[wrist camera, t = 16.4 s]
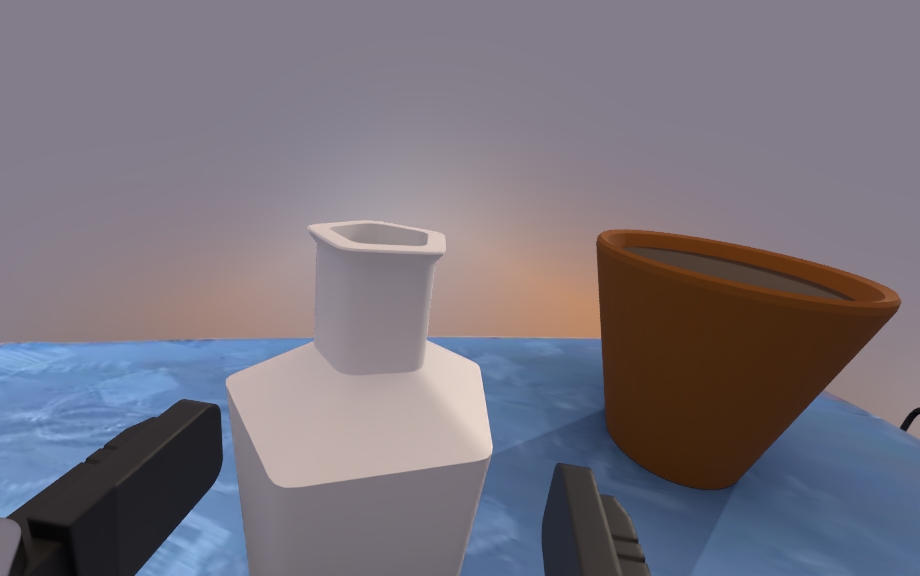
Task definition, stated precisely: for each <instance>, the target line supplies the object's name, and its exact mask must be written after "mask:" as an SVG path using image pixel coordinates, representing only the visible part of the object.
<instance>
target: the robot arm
mask: <svg viewBox="0 0 920 576" xmlns="http://www.w3.org/2000/svg"><path fill="white" fill-rule="evenodd" d="M919 414H920V408H916V409H914V410H913V411H912V412H911V413H909V415H908V416H907V417H906V418H905V420H904V422H903V423H902V425H901V426H900V429H901V430H903V431H905V432H906V431H907V430H908V428H909V426H910V425H911V423H912V422H913V420H914V419H915V418H916V417H917V416H918V415H919ZM222 461H223V450H222V429H221V411H220V408H219V406H218V405H216V404H211V403H206V402H200V401H194V400H188V399H183V400H180V401H178V402H177V403H175V404H174V405H173V406H171V407H170V408H169V409H168V410H166V411H165V412H164V413H162V414H161V415H160V416H158V417H157V418H156V417H152V418H150V419H147V420H145V421H143V422H141V423H139V424H136V425H134V426H132V427H130V428H127V429H126V430H124V431H123V432H122V433H120V434H119V435H117V436H116V437H115V438H113V439H112V440H111V441H109V442H108V443H107V444H105V445H104V448H103V449H101V448H100V449H98V450H97V451H96V452H94V453H93V454H92V455H90V456H89V457H88V458H86V461H85V462H84V463H83V462H81V463H79V464H78V465H77V466H75V467H74V468H73V469H71V470H70V471H69V472H67V473H66V474H65V475H63V476H62V477H60V478H59V479H58V480H56V481H55V482H54V483H52V484H51V485H50V486H48V487H47V488H46V489H44V490H43V491H41V492H40V493H39V494H37V495H36V496H35V497H33V498H32V499H31V500H29V501H28V502H27V503H25V504H24V505H22V506H21V507H20V508H18V509H17V510H16V511H14V512H13V513H12V514H10V515H9V516H7V517H6V518H0V576H135V574H136V573H137V572H138V571H139V570H140V569H141V568H142V566H143V565H144V564H145V563H146V562H147V561H148V559H149V558H150V557H151V556H152V555H153V554H154V553H155V551H156V550H157V549H158V548H159V547H160V546H161V544H162V543H163V542H164V541H165V540H166V539H167V538H168V536H169V535H170V534H171V533H172V532H173V531H174V529H175V528H176V527H177V526H178V525H179V524H180V523H181V521H182V520H183V519H184V518H185V517H186V516H187V514H188V513H189V512H190V511H191V510H192V509H193V508H194V506H195V505H196V504H197V503H198V502H199V501H200V499H201V498H202V497H203V496H204V495H205V494H206V493H207V491H208V490H209V489H210V488H211V487H212V485H213V484H214V483H215V481H216V479H217V477H218V475H219V473H220V470H221V467H222ZM542 551H543V561H544V571H545V576H651V574H650V571H649V568H648V566H647V564H645V557H644V554H643V551H642V549H641V546H640V544H638V537H637V535H636V532H635V529H634V526H633V523H632V520H631V518H630V516H629V515H628V514H627V512H626V511H625V510H624V509H623V507H622V506H621V505H620V503H619V502H618V501H617V500H616V498H615V497H613V496H607V495H601V494H599V491H598V488H597V484H596V481H595V477H594V474H593V471H592V469H591V468H587V467H581V466H575V465H569V464H563V463H557V464H556V467H555V470H554V474H553V478H552V482H551V486H550V490H549V495H548V499H547V503H546V507H545V512H544V516H543V523H542Z"/></svg>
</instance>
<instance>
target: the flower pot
mask: <svg viewBox="0 0 920 576" xmlns="http://www.w3.org/2000/svg"><path fill="white" fill-rule="evenodd" d="M596 246H597V263H598V282H599V302H600V320H601V339H602V358H603V376H604V395H605V414H606V425H607V429H608V431H609V433H610V435H611V437H612V439H613V440H614V442H615V443H616V444H617V445H618V446H619V448H620V449H621V450H622V451H623V452H624V453H625V454H627V455H628V456H629V457H630V458H631V459H633V460H634V461H635V462H636V463H638V464H639V465H641V466H642V467H644V468H645V469H647V470H649V471H651V472H652V473H654V474H656V475H658V476H660V477H662V478H665V479H667V480H669V481H672V482H675V483H678V484H681V485H684V486H688V487H693V488H699V489H711V490H712V489H722V488H726V487H729V486H731V485H733V484H735V483H736V482H737V481H738V480H739V479H740V478H741V477H742V476H743V475H744V473H745V472H746V471H747V470H748V469H749V468H750V467H751V466H752V465H753V464H754V463H755V462H756V461H757V460H758V459H759V458H760V457H761V455H762V454H763V453H764V452H765V451H766V450H767V449H768V448H769V447H770V446H771V445H772V444H773V443H774V442H775V441H776V440H777V438H778V437H779V436H780V435H781V434H782V433H783V432H784V431H785V430H786V429H787V428H788V427H789V426H790V425H791V424H792V423H793V421H794V420H795V419H796V418H797V417H798V416H799V415H800V414H801V413H802V412H803V411H804V410H805V409H806V408H807V407H808V406H809V404H810V403H811V402H812V401H813V400H814V399H815V398H816V397H817V396H818V395H819V394H820V393H821V392H822V391H823V390H824V389H825V387H826V386H827V385H828V384H829V383H830V382H831V381H832V380H833V379H834V378H835V377H836V376H837V375H838V373H840V372H841V370H842V369H843V368H844V367H845V366H846V365H847V364H848V363H849V362H850V361H851V360H852V359H853V358H854V357H855V356H856V355H857V353H858V352H859V351H860V350H861V349H862V348H863V347H864V346H865V345H866V344H867V343H868V342H869V341H870V340H871V338H873V336H874V335H875V334H876V333H877V332H878V331H879V330H880V329H881V328H882V327H883V326H884V325H885V324H886V323H887V322H888V321H889V320H890V318H891V317H892V316H893V315H894V314H895V313H896V312H897V310H898V308H899V306H900V304H901V300H900V298H899V296H898V294H897V293H896V292H895V291H893V290H891V289H890V288H888V287H886V286H883V285H881V284H879V283H876V282H874V281H872V280H869V279H866V278H863V277H861V276H858V275H855V274H851V273H849V272H845V271H842V270H839V269H835V268H832V267H829V266H825V265H822V264H818V263H814V262H810V261H807V260H803V259H799V258H795V257H791V256H787V255H783V254H778V253H774V252H770V251H765V250H761V249H756V248H751V247H747V246H741V245H737V244H732V243H726V242H721V241H715V240H710V239H704V238H698V237H691V236H685V235H678V234H671V233H663V232H653V231H642V230H608V231H604V232H602V233H601V234H600V235H599V236H598V238H597V242H596Z"/></svg>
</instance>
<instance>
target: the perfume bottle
mask: <svg viewBox="0 0 920 576" xmlns="http://www.w3.org/2000/svg"><path fill="white" fill-rule="evenodd" d="M307 230H308V232H309V233H310V234H311V236H312V237H313V238H314V239H315V241H316V242H317V259H316V294H315V295H316V296H315V328H314V330H315V331H314V341H313V342H310V343H308V344H305V345H303V346H300V347H298V348H295V349H293V350H291V351H288V352H286V353H283V354H281V355H278V356H276V357H273V358H271V359H268V360H266V361H264V362H261V363H259V364H256V365H254V366H251V367H249V368H246V369H244V370H241V371H239V372H237V373H235V374H233V375H230V376H229V377H228V378H227V379H226V388H227V396H228V404H229V412H230V420H231V428H232V436H233V444H234V452H235V461H236V469H237V477H238V485H239V493H240V501H241V509H242V517H243V525H244V533H245V541H246V549H247V557H248V565H249V574H250V576H459V575H460V571H461V567H462V563H463V560H464V556H465V552H466V548H467V545H468V541H469V537H470V534H471V530H472V526H473V522H474V519H475V515H476V511H477V507H478V504H479V500H480V496H481V492H482V489H483V485H484V481H485V477H486V474H487V470H488V466H489V462H490V459H491V455H492V448H493V445H492V439H491V433H490V427H489V421H488V415H487V408H486V402H485V396H484V390H483V384H482V378H481V371H480V368H479V366H478V365H477V364H476V363H475V362H473V361H471V360H469V359H466V358H464V357H462V356H460V355H458V354H456V353H453V352H451V351H449V350H447V349H445V348H443V347H441V346H438V345H436V344H434V343H432V342H430V341H428V340H427V332H428V324H429V315H430V307H431V298H432V289H433V281H434V272H435V263H436V261H437V260H438V259H439V258H440V257H441V256H442V255H443V254H444V253H445V251H446V244H445V243H446V240H445V236H444V235H443V234H441V233H439V232H434V231H429V230H423V229H418V228H413V227H407V226H402V225H396V224H391V223H386V222H380V221H370V220H365V221H364V220H363V221H349V222H336V223H324V224H314V225H310V226H308V227H307Z"/></svg>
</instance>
